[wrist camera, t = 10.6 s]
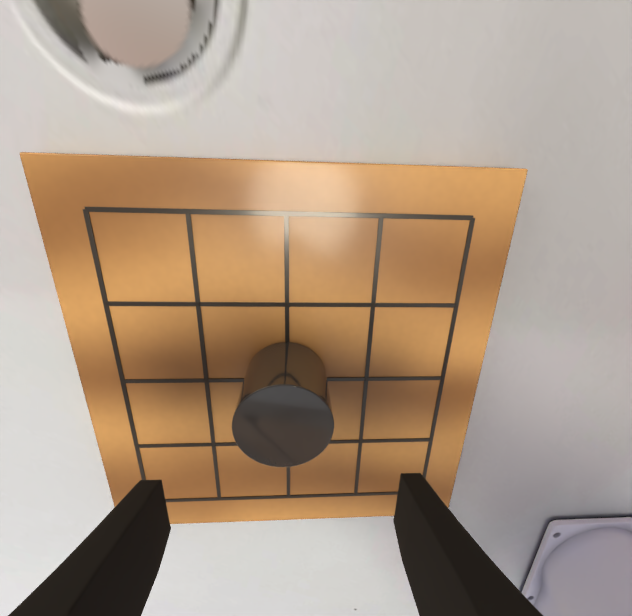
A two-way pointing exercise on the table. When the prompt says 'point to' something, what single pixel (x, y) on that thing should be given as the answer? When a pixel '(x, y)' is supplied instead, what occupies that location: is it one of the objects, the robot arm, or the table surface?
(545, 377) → the table surface
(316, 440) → the game stone
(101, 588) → the robot arm
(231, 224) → the board
